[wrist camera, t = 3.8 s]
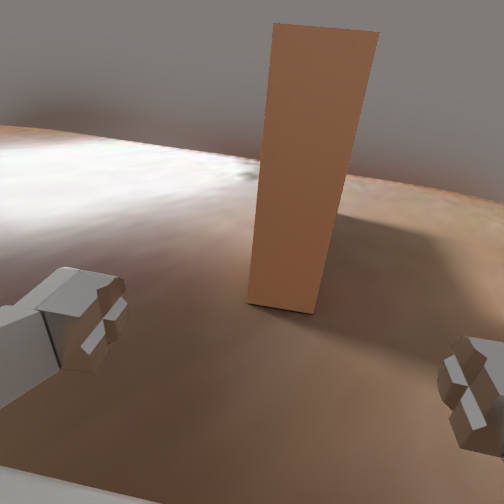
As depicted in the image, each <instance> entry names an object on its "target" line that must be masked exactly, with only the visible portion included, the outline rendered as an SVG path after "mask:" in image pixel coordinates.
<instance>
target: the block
mask: <svg viewBox="0 0 504 504" xmlns="http://www.w3.org/2000/svg"><path fill="white" fill-rule="evenodd" d="M379 33H380V32H372V31H361V30H349V29H338V28H326V27H314V26H303V25H291V24H280V23H274V24H273V34H272V45H271V55H270V66H269V76H268V87H267V98H266V109H265V119H264V129H263V140H262V151H261V161H260V172H259V182H258V193H257V204H256V214H255V225H254V235H253V246H252V257H251V267H250V278H249V288H248V299H247V303H251V304H257V305H263V306H269V307H275V308H280V309H286V310H292V311H298V312H304V313H310V314H313V313H314V309H315V305H316V301H317V296H318V292H319V288H320V284H321V279H322V275H323V271H324V267H325V262H326V258H327V254H328V250H329V245H330V241H331V237H332V233H333V228H334V224H335V220H336V216H337V211H338V207H339V203H340V199H341V194H342V190H343V186H344V182H345V177H346V173H347V169H348V165H349V160H350V156H351V152H352V147H353V143H354V139H355V135H356V131H357V126H358V122H359V118H360V114H361V109H362V105H363V101H364V97H365V92H366V88H367V83H368V79H369V75H370V71H371V67H372V63H373V58H374V54H375V50H376V45H377V41H378V37H379Z"/></svg>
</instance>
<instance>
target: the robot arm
mask: <svg viewBox="0 0 504 504" xmlns="http://www.w3.org/2000/svg"><path fill="white" fill-rule="evenodd" d="M124 292H125V285H124V280H123V279H122V278H120V277H118V276H113V275H108V274H103V273H98V272H93V271H87V270H80V269H75V268H70V267H61V268H58V269H57V270H56V271H54V272H53V273H52V274H51V275H50V276H48V277H47V278H46V279H45V280H44V281H42V282H41V283H40V284H39V285H37V286H36V287H35V288H34V289H33V290H31V291H30V292H29V293H28V294H27V295H25V296H24V297H23V298H22V299H20V300H19V301H18V302H17V303H16V304H14V305H13V306H10V305H5V306H2V307H0V409H1V408H3V407H4V406H6V405H7V404H9V403H10V402H12V401H14V400H15V399H17V398H18V397H20V396H21V395H23V394H24V393H26V392H28V391H29V390H31V389H32V388H34V387H35V386H37V385H38V384H40V383H42V382H43V381H45V380H46V379H48V378H49V377H51V376H52V375H54V374H56V373H57V372H59V371H60V369H65V370H71V371H77V372H82V373H88V374H95V372H96V371H97V369H98V368H99V367H100V365H101V364H102V362H103V361H104V359H105V358H106V357H107V355H108V354H109V349H108V345H109V344H111V343H112V342H114V341H116V340H118V339H119V338H120V336H121V335H122V333H123V332H124V329H125V327H126V324H127V321H128V312H129V311H128V304H127V303H126V301H125V300H124V299H123V298H122V297H121V295H122V294H123V293H124ZM451 348H452V350H453V353H454V355H452V356H451V357H449V358H447V359H445V360H443V362H442V364H441V366H440V368H439V371H438V380H437V383H438V390H439V393H440V396H441V399H442V401H443V402H444V403H445V404H446V405H447V406H448V407H449V408H450V409H451V410H452V413H451V415H450V417H449V421H450V424H451V426H452V429H453V432H454V434H455V437H456V440H457V442H458V445H459V448H461V449H465V450H470V451H474V452H478V453H483V454H487V455H491V456H496V457H500V458H503V459H502V461H503V462H504V342H501V341H494V340H488V339H482V338H476V337H470V336H464V335H461V336H459V337H458V338H456V339H455V341H454V343H453V344H452V346H451ZM0 504H161V503H157V502H153V501H148V500H144V499H140V498H136V497H132V496H127V495H123V494H119V493H115V492H110V491H106V490H102V489H98V488H93V487H89V486H85V485H81V484H76V483H72V482H68V481H64V480H60V479H55V478H51V477H47V476H43V475H38V474H34V473H30V472H26V471H21V470H17V469H13V468H9V467H4V466H0Z"/></svg>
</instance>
